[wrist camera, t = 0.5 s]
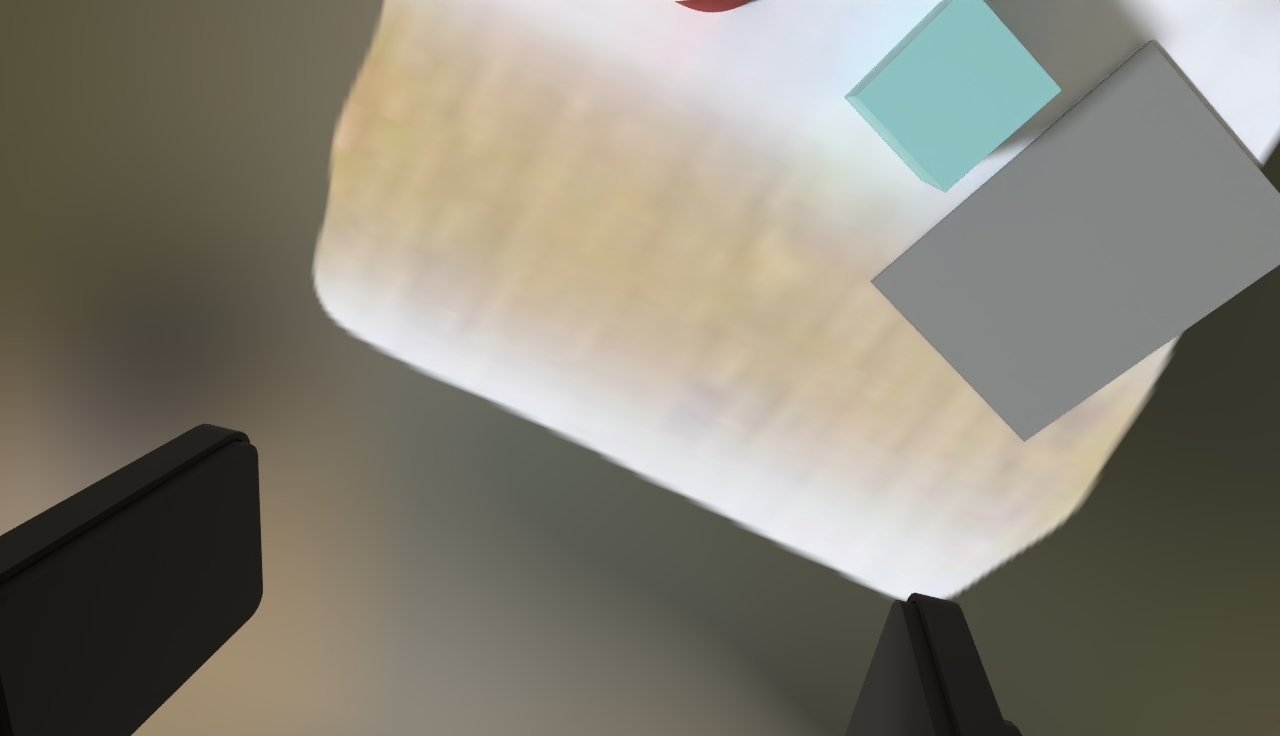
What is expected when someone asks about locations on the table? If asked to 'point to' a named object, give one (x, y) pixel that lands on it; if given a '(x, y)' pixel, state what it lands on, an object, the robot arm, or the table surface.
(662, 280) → the table surface
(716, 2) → the paper cup
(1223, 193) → the slate mat
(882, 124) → the teal block
